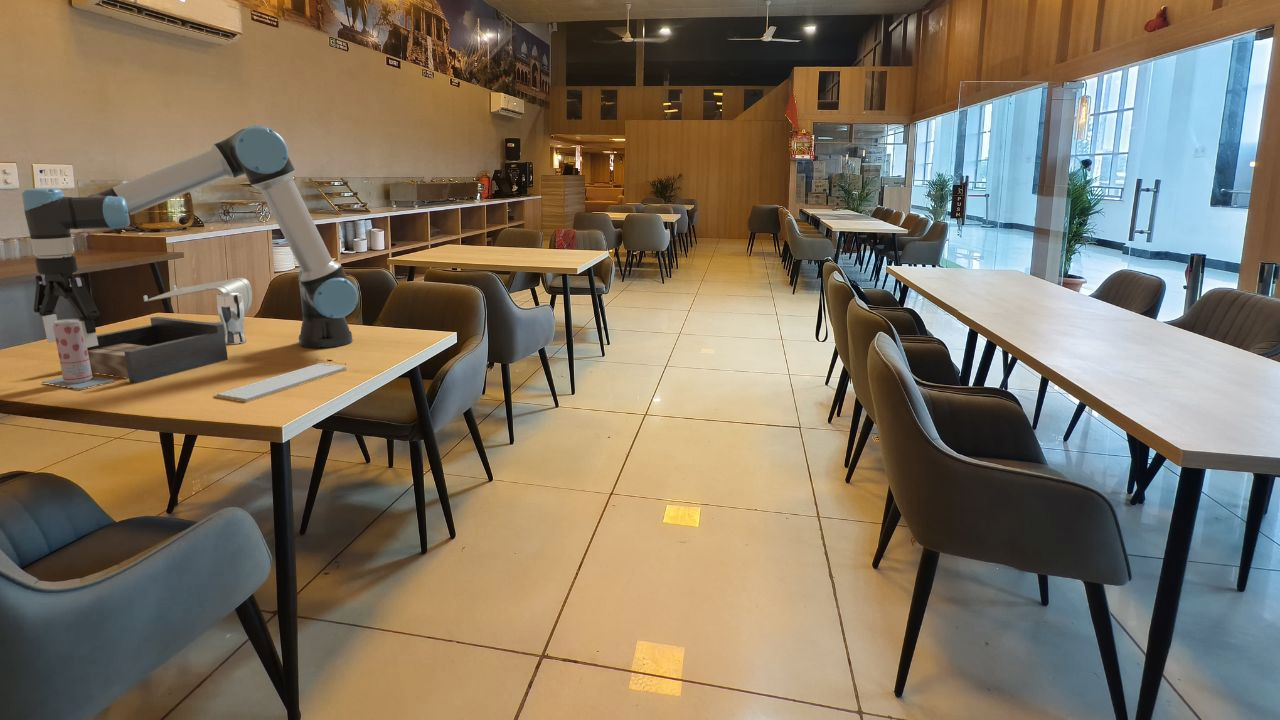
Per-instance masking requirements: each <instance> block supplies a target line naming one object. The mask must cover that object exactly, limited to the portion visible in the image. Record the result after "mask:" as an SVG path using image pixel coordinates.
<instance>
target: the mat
mask: <svg viewBox="0 0 1280 720" xmlns="http://www.w3.org/2000/svg"><path fill="white" fill-rule="evenodd" d="M92 377H93V378H92V379H91V380H90V381H87V382H83V383H75V384H68V383H66V382H64V380H63V376H61V377H57V378H54V379H49V380H45V381H41V384H42V383H49V384H54V385H59V386H65V387H70V388H75V389H84V388H88V387H92V386H95V385H100V384H104V385H106V384H105V383H108V384H111V383H110V382H112V383H115V379H111V378H103V377H99V376H93V375H92ZM100 386H101V385H100ZM92 388H93V387H92ZM88 389H89V388H88Z"/></svg>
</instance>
